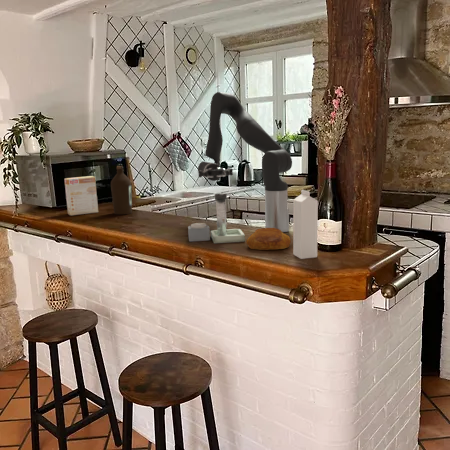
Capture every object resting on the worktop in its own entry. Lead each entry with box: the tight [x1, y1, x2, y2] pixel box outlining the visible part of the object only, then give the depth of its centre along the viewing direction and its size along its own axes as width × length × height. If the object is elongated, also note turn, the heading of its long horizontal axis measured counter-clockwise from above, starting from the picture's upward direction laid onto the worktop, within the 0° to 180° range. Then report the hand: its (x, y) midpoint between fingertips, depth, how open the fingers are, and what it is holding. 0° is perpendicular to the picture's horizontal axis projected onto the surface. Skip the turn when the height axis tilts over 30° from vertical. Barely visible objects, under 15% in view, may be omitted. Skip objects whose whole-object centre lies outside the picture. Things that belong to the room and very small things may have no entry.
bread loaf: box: [245, 227, 292, 251], centre depth 169 cm, size 15×16×8 cm
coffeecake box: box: [64, 175, 99, 216], centre depth 251 cm, size 15×7×20 cm, turn 121°
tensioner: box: [187, 222, 211, 242], centre depth 187 cm, size 8×14×6 cm, turn 8°
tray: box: [209, 228, 246, 244], centre depth 183 cm, size 12×12×2 cm
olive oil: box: [110, 165, 133, 216], centre depth 246 cm, size 11×11×25 cm
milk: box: [292, 189, 319, 260], centre depth 154 cm, size 6×6×22 cm
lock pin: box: [214, 192, 228, 236], centre depth 181 cm, size 5×5×17 cm
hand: (217, 173), depth 189 cm, fingers open, 8 cm apart
